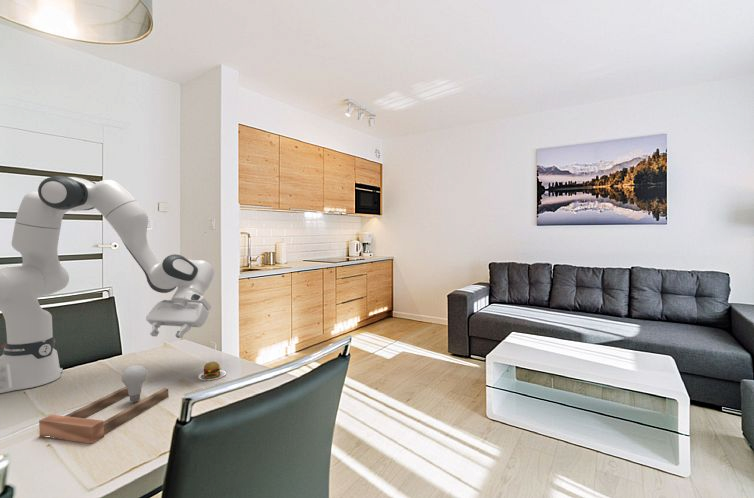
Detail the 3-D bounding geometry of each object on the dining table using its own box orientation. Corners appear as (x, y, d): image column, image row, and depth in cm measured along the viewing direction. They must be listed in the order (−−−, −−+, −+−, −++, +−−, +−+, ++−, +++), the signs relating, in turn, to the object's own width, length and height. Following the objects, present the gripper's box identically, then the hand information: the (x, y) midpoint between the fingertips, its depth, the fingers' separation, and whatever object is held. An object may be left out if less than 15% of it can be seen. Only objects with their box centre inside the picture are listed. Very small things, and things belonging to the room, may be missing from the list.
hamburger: (236, 371, 134) (236, 356, 133) (221, 385, 122) (221, 368, 121) (204, 370, 134) (203, 356, 134) (186, 384, 122) (185, 368, 122)
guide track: (127, 392, 114) (126, 379, 114) (170, 396, 111) (170, 383, 111) (39, 436, 90) (39, 420, 90) (92, 443, 87) (91, 427, 87)
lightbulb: (145, 395, 112) (144, 360, 112) (148, 402, 107) (147, 366, 107) (121, 401, 108) (120, 364, 108) (123, 409, 104) (122, 371, 103)
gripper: (155, 294, 128) (132, 329, 119) (207, 296, 124) (187, 333, 115) (165, 304, 133) (144, 339, 124) (215, 307, 129) (197, 342, 120)
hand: (165, 336), depth 119 cm, fingers open, 8 cm apart
